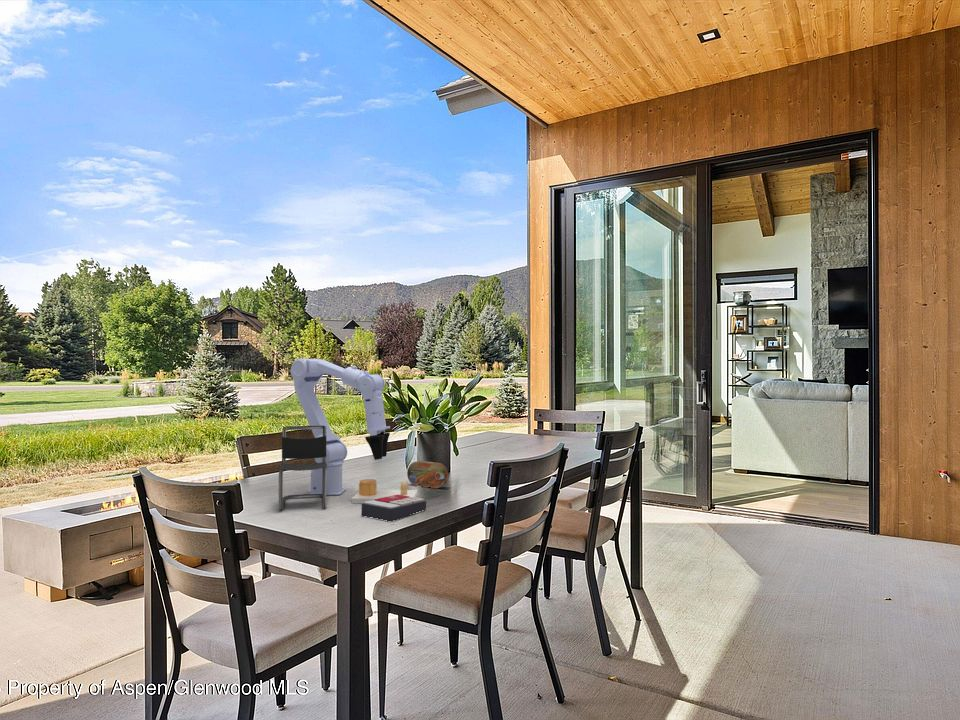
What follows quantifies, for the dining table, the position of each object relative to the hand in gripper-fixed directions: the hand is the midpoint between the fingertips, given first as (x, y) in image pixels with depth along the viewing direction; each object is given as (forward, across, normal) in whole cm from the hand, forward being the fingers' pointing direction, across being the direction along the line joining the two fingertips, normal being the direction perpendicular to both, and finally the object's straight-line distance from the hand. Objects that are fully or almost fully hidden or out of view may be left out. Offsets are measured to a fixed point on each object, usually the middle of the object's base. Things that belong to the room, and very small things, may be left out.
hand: (380, 458), depth 183 cm
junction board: (+13, +1, 0) cm, 13 cm away
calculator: (+15, -15, -5) cm, 22 cm away
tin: (+13, +19, -11) cm, 25 cm away
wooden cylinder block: (+10, +1, +5) cm, 12 cm away
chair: (+10, -6, +23) cm, 26 cm away
